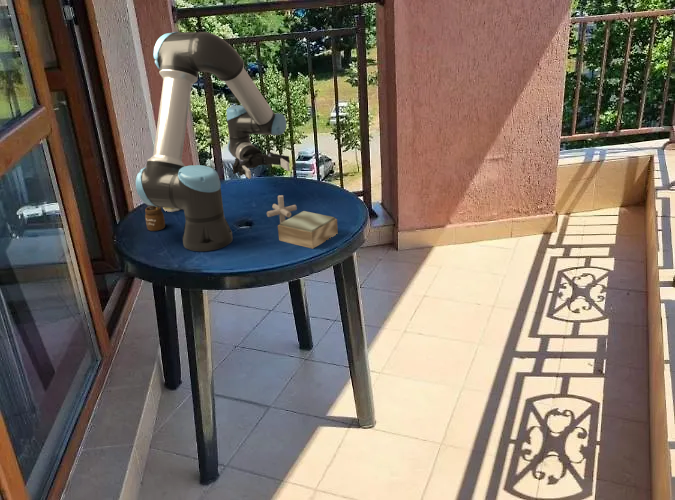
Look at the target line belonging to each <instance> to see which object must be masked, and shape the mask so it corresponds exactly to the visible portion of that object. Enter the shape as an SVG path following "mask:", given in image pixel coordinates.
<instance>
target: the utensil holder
mask: <svg viewBox="0 0 675 500" xmlns="http://www.w3.org/2000/svg"><path fill="white" fill-rule="evenodd" d="M146 206H147V207H146V208H145V211H144V212H145V215H144V217H145V219H144V220H145V224H146V229H147V231H150V232H157V231H161V230H163V229H164V228H165V227H166V220H165V215H164V212H163V211H162V210H163V208H162V207H155V206H151V205H147V204H146Z"/></svg>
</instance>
